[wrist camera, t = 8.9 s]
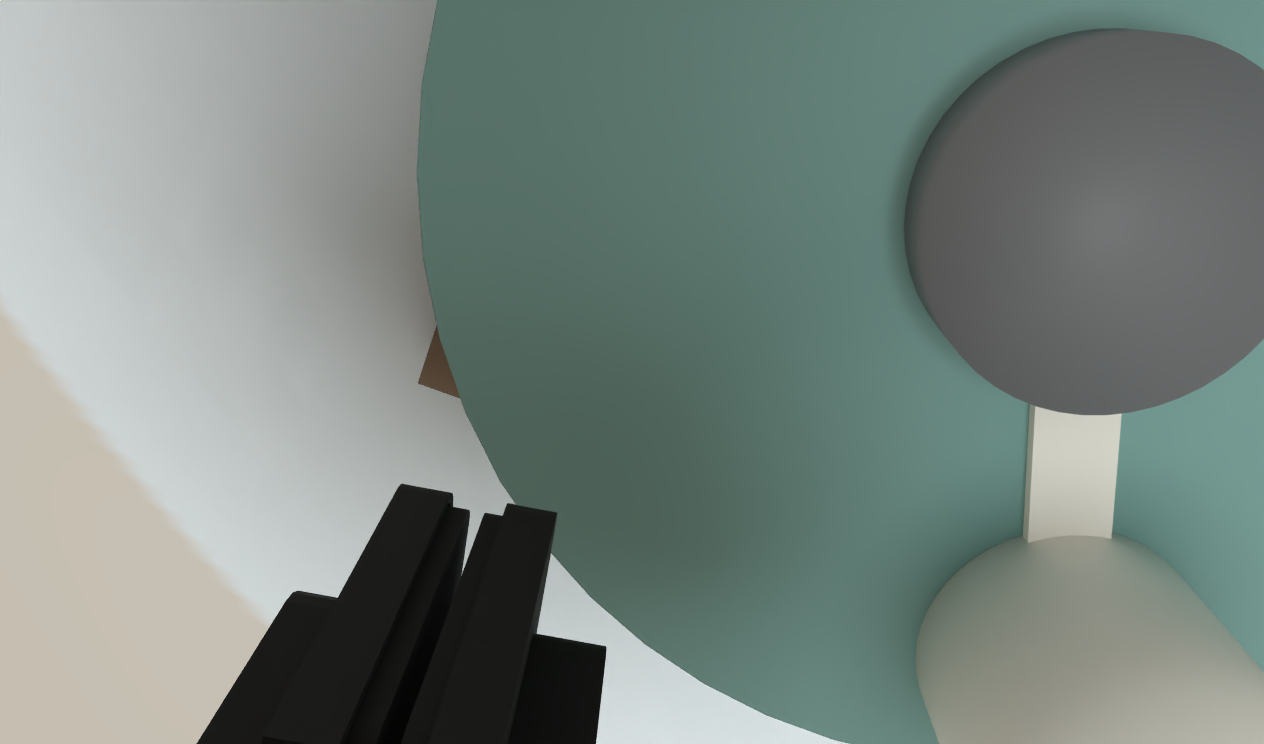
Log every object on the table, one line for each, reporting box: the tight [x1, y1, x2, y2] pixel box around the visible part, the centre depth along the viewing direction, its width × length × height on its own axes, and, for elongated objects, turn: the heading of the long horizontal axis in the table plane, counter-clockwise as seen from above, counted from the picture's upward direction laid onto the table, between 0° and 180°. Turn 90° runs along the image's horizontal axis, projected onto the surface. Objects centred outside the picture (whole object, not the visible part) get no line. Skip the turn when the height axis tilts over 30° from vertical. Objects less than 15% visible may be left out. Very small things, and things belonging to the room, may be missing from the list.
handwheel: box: [417, 0, 1264, 744], centre depth 10 cm, size 15×15×6 cm
